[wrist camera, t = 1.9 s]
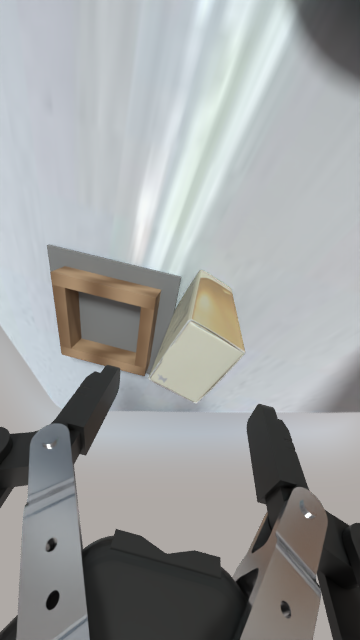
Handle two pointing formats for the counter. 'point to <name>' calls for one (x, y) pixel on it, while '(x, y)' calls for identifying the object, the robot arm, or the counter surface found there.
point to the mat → (114, 316)
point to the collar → (76, 280)
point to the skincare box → (199, 340)
